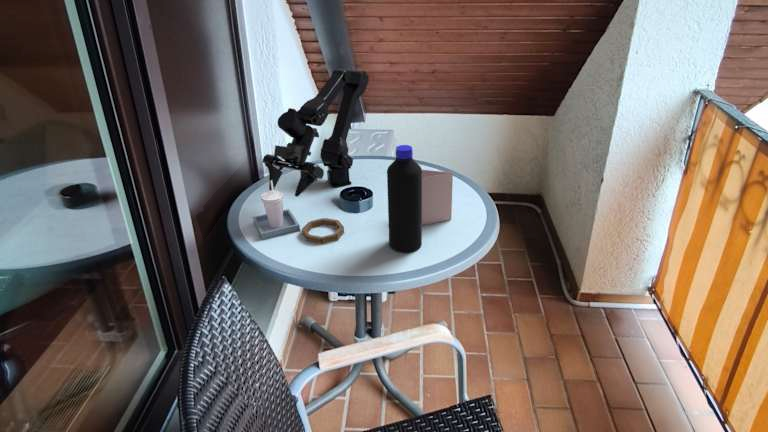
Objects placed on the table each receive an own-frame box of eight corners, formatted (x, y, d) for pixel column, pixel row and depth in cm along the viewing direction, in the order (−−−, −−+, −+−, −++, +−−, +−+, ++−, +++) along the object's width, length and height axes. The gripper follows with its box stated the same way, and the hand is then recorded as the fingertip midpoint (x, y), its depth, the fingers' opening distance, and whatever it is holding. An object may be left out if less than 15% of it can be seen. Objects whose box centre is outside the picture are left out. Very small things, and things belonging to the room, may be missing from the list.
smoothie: (292, 222, 158) (286, 179, 152) (277, 232, 154) (270, 188, 147) (275, 217, 161) (268, 174, 155) (260, 227, 157) (253, 183, 150)
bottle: (425, 238, 149) (426, 143, 136) (416, 255, 142) (416, 156, 129) (395, 234, 152) (392, 140, 139) (384, 250, 145) (381, 152, 131)
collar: (335, 220, 160) (334, 215, 159) (348, 237, 151) (348, 232, 150) (299, 229, 156) (298, 223, 155) (310, 247, 147) (310, 241, 146)
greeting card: (451, 218, 159) (453, 171, 152) (446, 230, 153) (448, 182, 146) (414, 213, 162) (414, 167, 155) (407, 225, 156) (407, 178, 149)
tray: (289, 214, 164) (288, 209, 163) (300, 230, 155) (299, 224, 154) (253, 223, 160) (252, 217, 159) (262, 240, 151) (261, 233, 150)
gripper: (261, 128, 157) (242, 177, 154) (314, 137, 149) (294, 189, 146) (281, 144, 167) (263, 191, 164) (332, 153, 159) (314, 203, 156)
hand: (283, 193), depth 157 cm, fingers open, 9 cm apart
